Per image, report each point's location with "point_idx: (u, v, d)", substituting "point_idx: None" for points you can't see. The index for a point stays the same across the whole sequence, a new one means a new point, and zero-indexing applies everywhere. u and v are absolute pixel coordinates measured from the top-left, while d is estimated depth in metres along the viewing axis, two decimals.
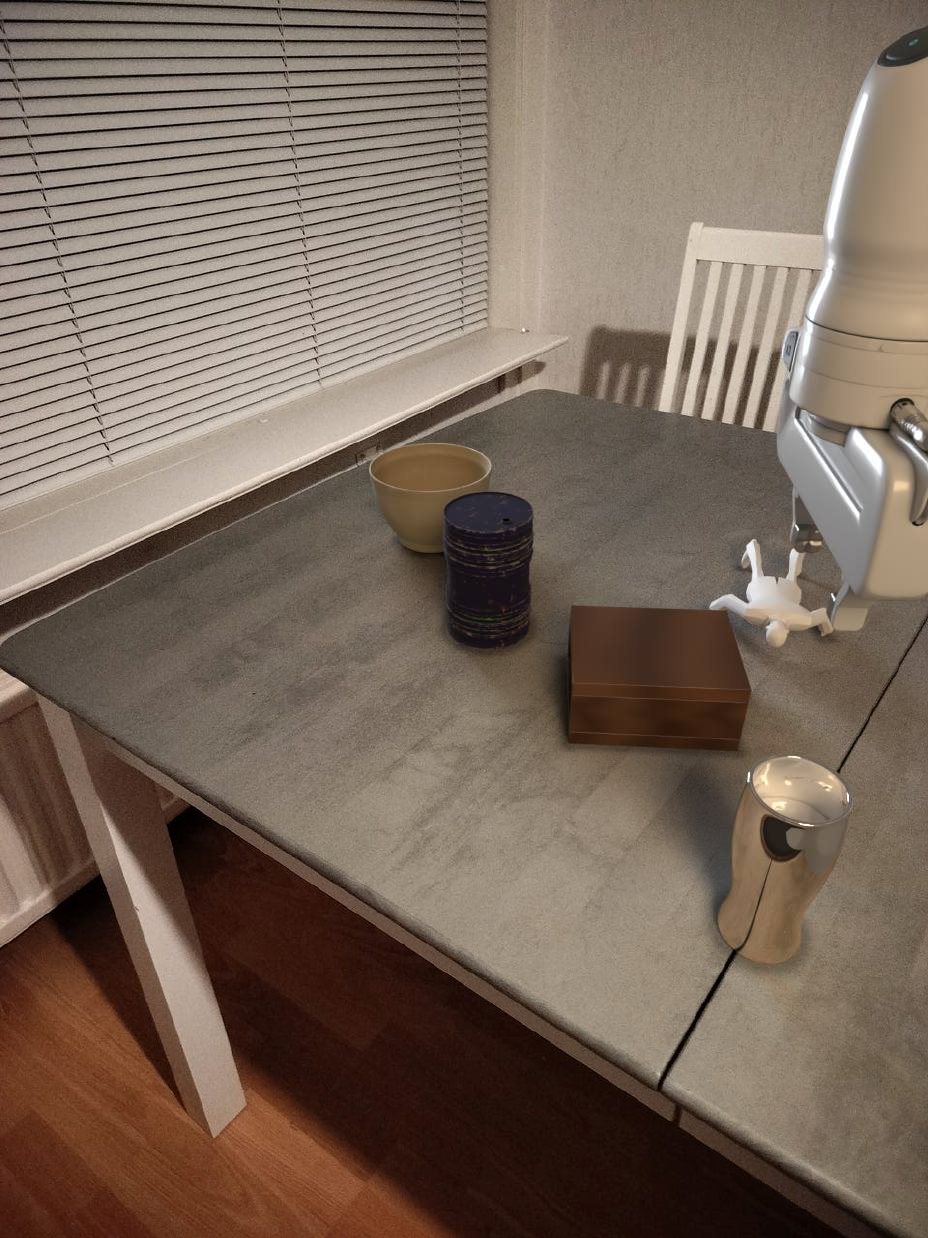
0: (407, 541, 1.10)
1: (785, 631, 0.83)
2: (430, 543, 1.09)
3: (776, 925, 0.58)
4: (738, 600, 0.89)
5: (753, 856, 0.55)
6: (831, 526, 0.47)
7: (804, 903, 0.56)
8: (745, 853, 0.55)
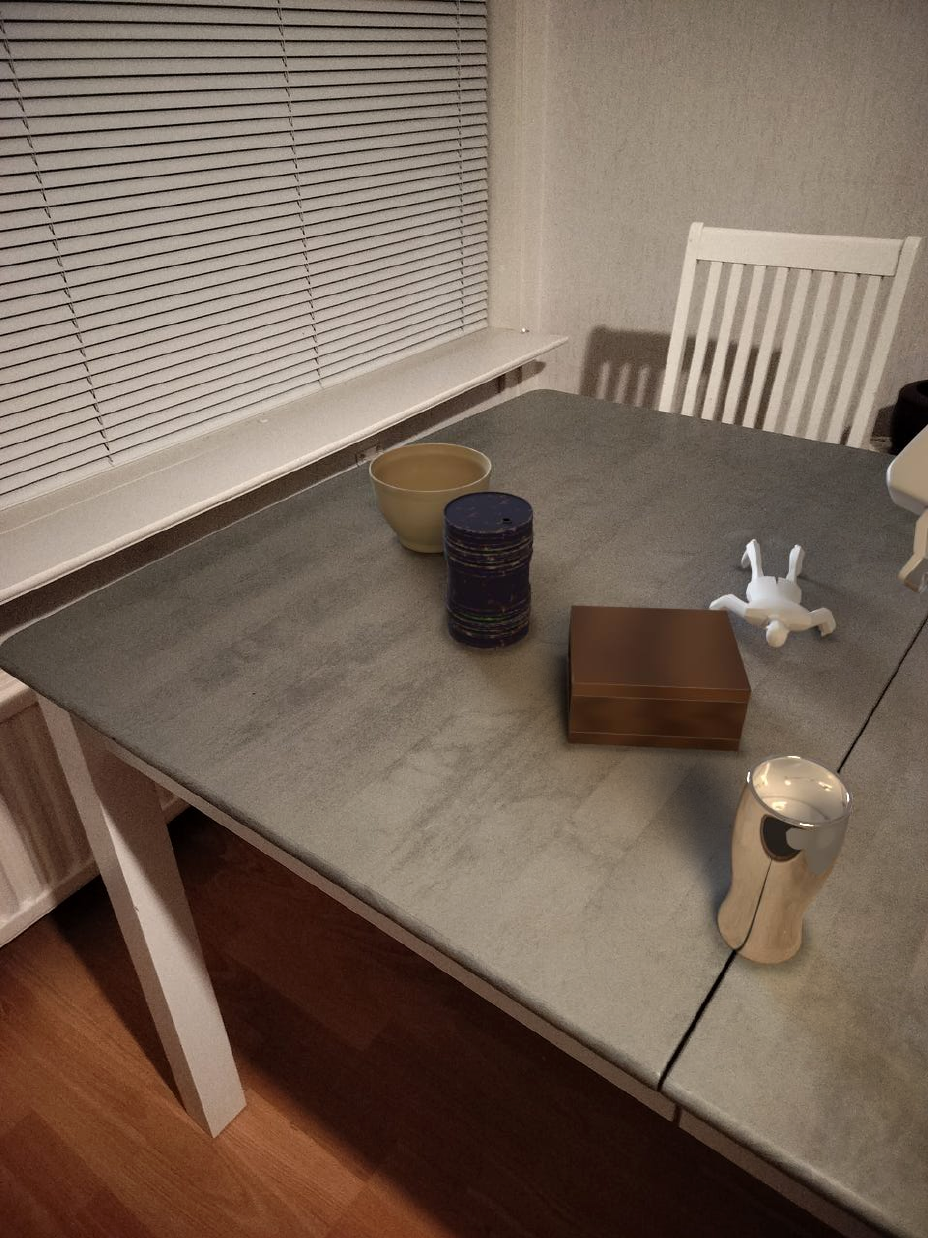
0: (407, 541, 1.10)
1: (785, 631, 0.83)
2: (430, 543, 1.09)
3: (776, 925, 0.58)
4: (738, 600, 0.89)
5: (753, 856, 0.55)
6: None
7: (804, 903, 0.56)
8: (745, 853, 0.55)
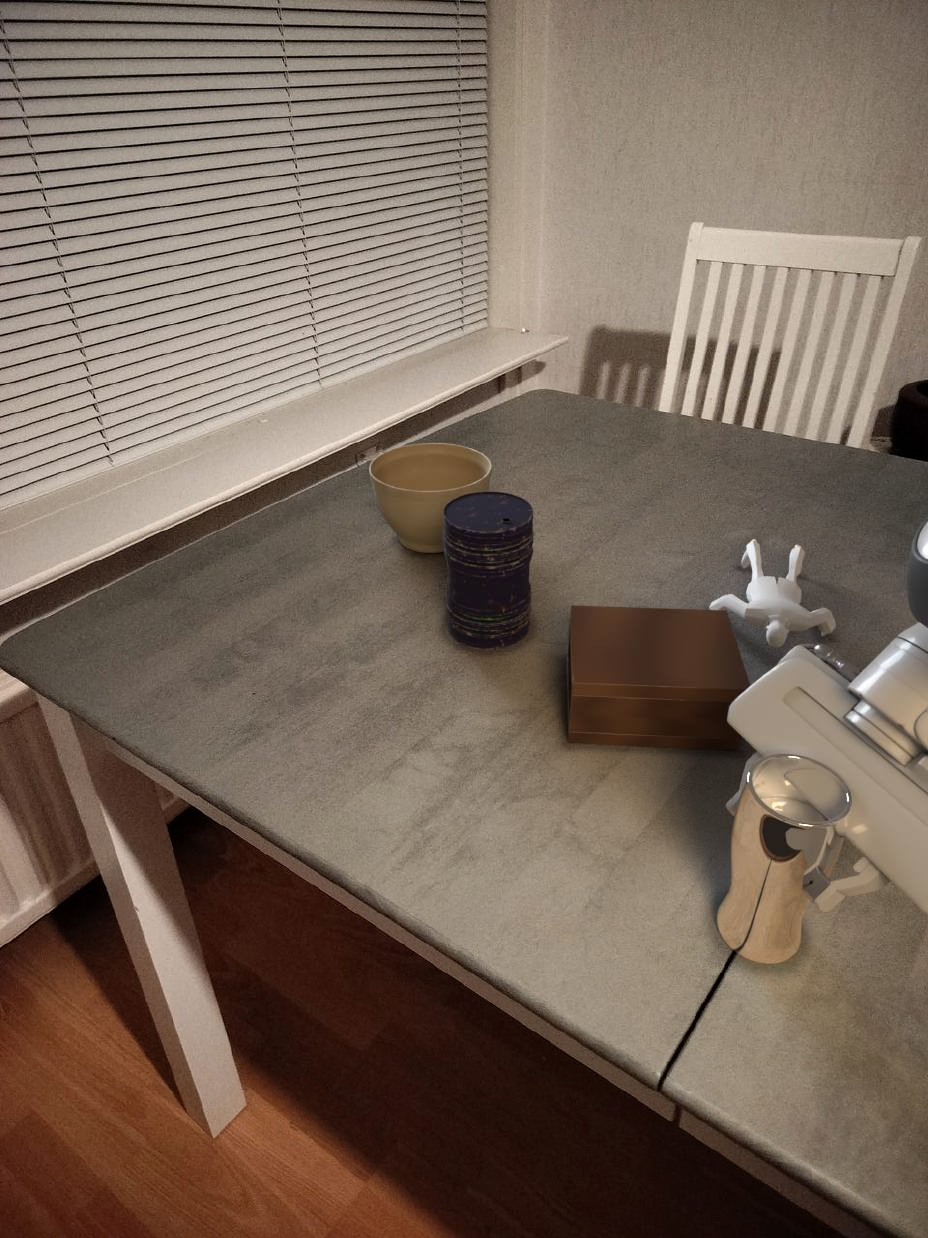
0: (407, 541, 1.10)
1: (785, 631, 0.83)
2: (430, 543, 1.09)
3: (775, 925, 0.58)
4: (738, 600, 0.89)
5: (753, 856, 0.55)
6: None
7: (803, 903, 0.56)
8: (745, 853, 0.55)
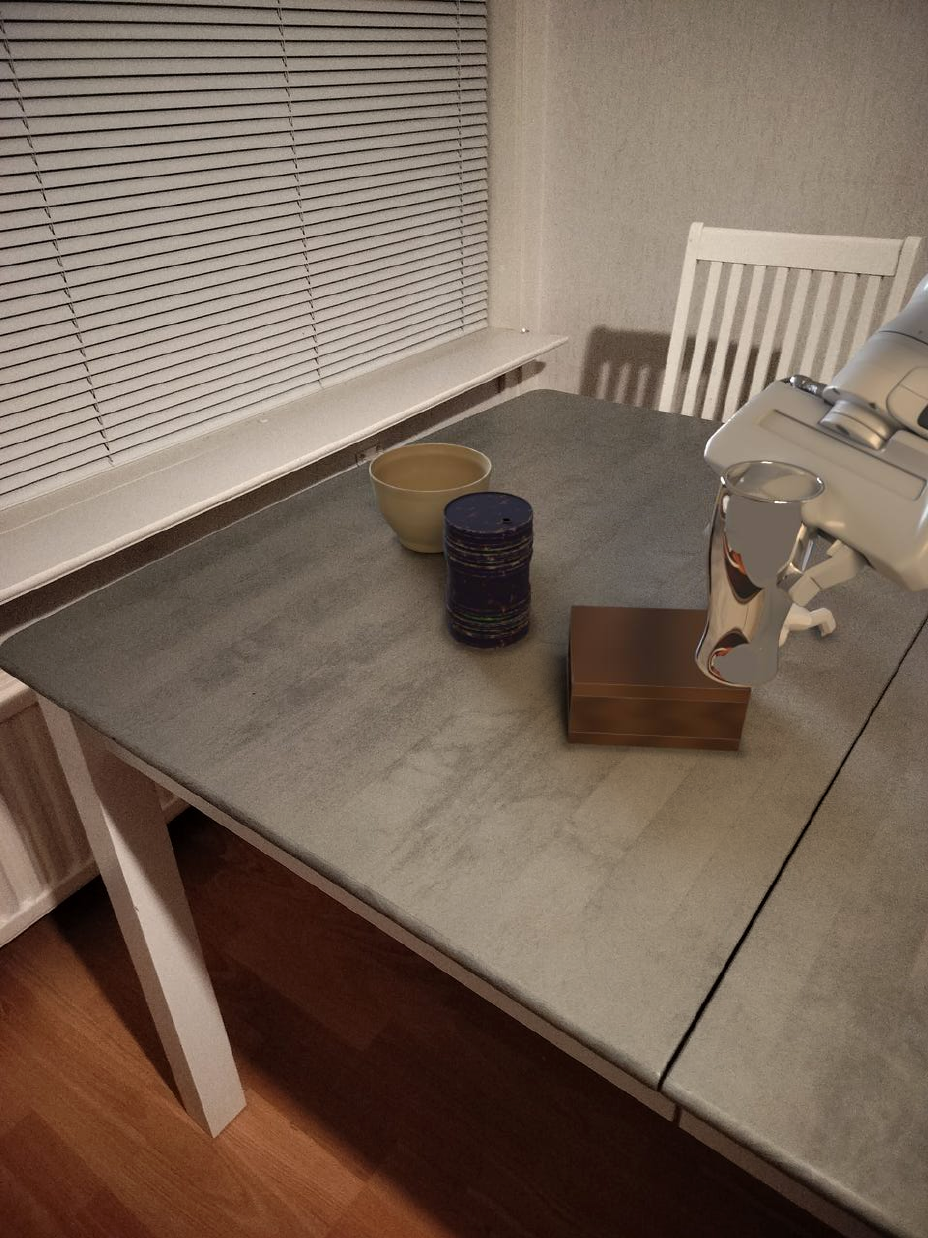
0: (407, 541, 1.10)
1: (785, 631, 0.83)
2: (430, 543, 1.09)
3: (751, 639, 0.58)
4: None
5: (727, 553, 0.55)
6: None
7: (779, 608, 0.56)
8: (719, 554, 0.55)
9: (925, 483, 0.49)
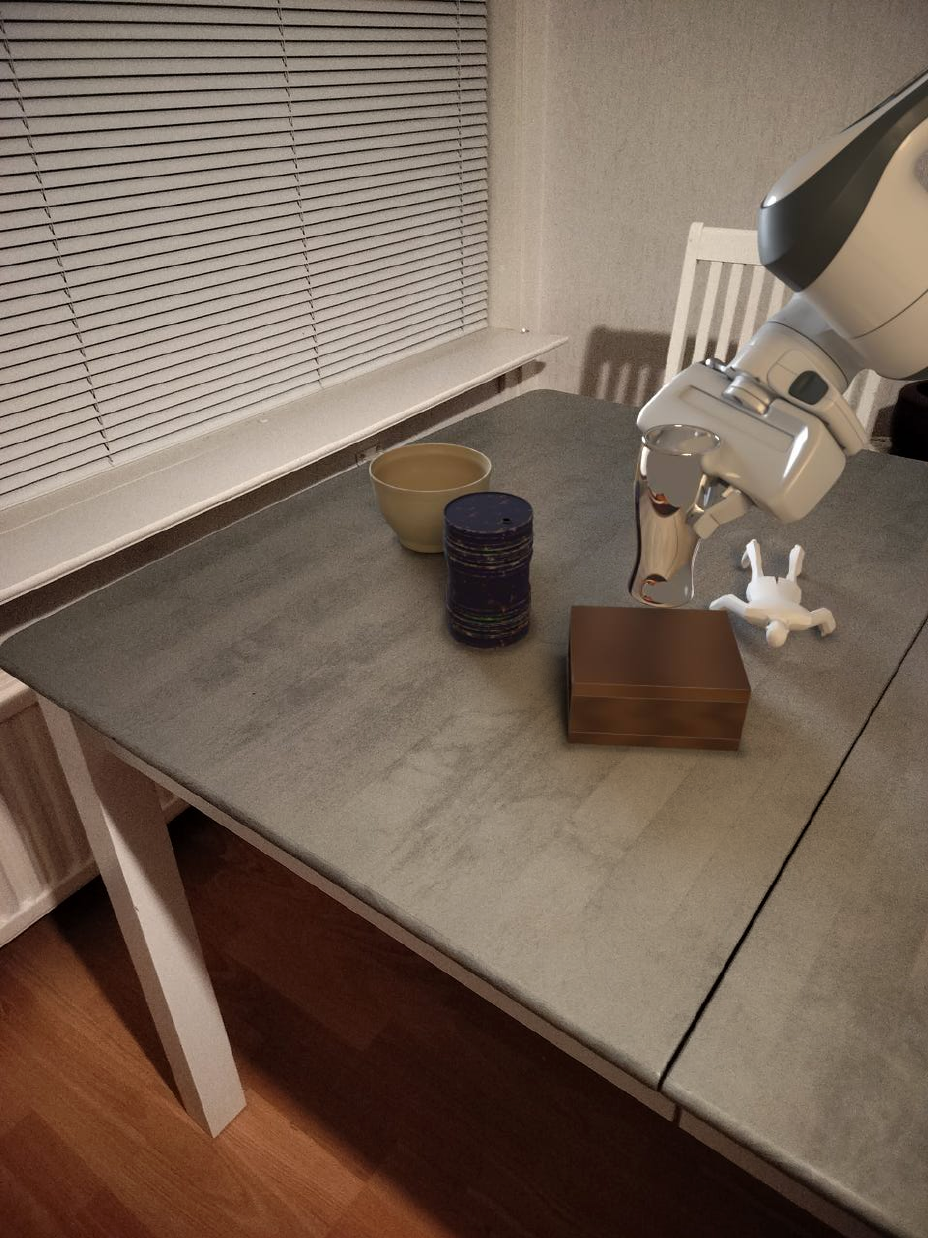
0: (407, 541, 1.10)
1: (785, 631, 0.83)
2: (430, 543, 1.09)
3: (669, 568, 0.72)
4: (738, 600, 0.89)
5: (646, 497, 0.69)
6: None
7: (689, 541, 0.70)
8: (641, 498, 0.70)
9: (793, 439, 0.64)
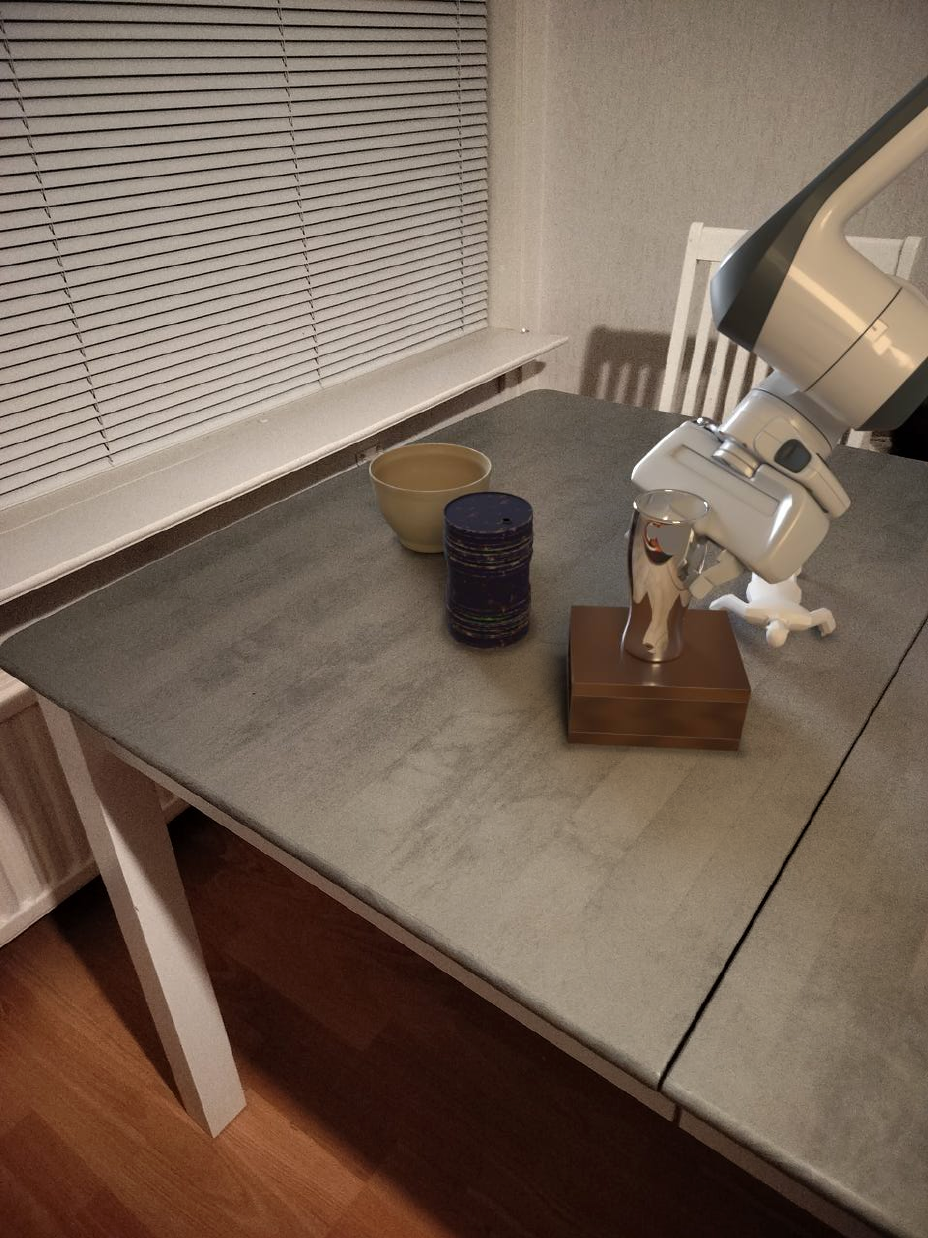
0: (407, 541, 1.10)
1: (785, 631, 0.83)
2: (430, 543, 1.09)
3: (660, 624, 0.76)
4: (738, 600, 0.89)
5: (638, 559, 0.73)
6: None
7: (679, 601, 0.74)
8: (633, 560, 0.73)
9: (779, 504, 0.67)
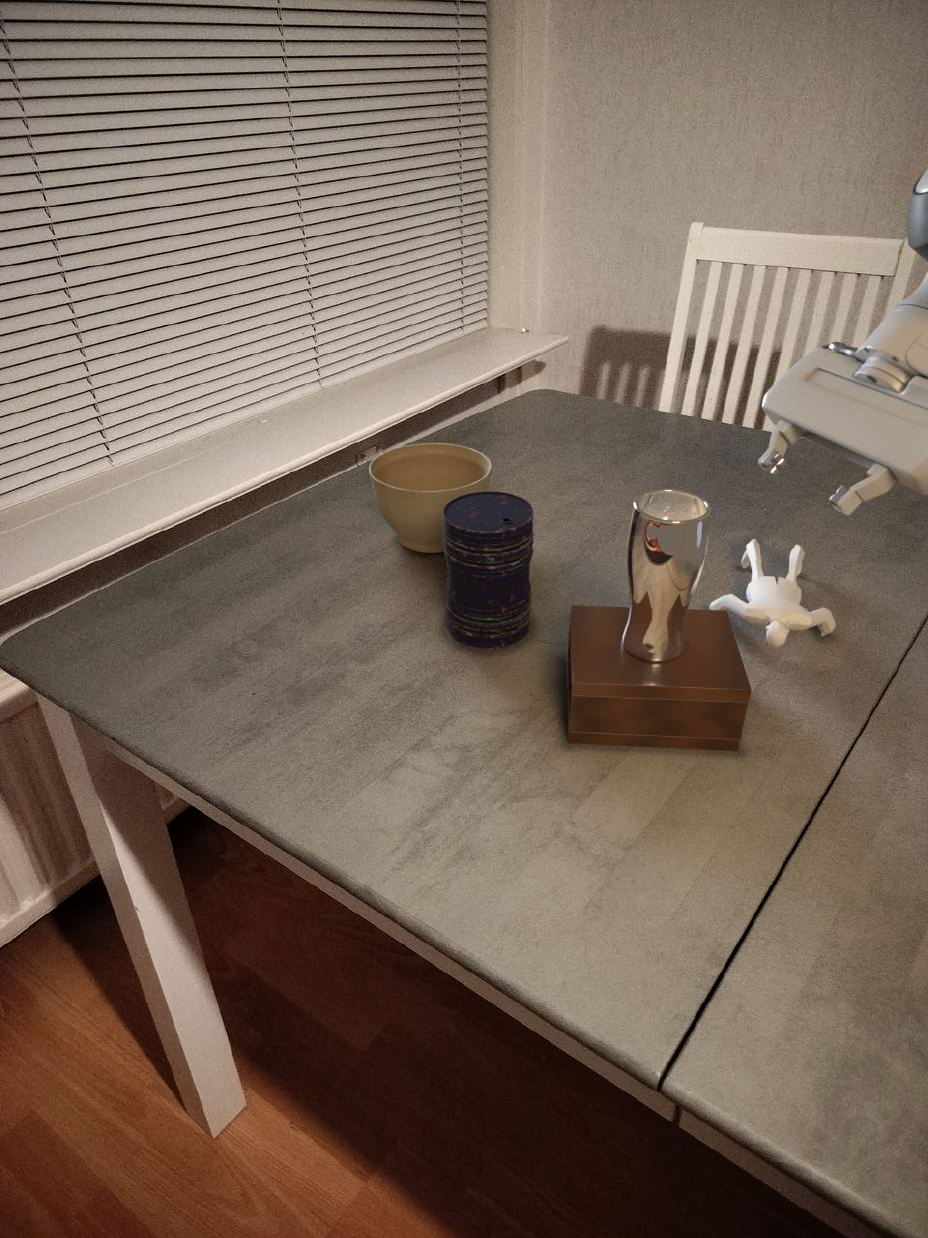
0: (407, 541, 1.10)
1: (785, 631, 0.83)
2: (430, 543, 1.09)
3: (660, 624, 0.76)
4: (738, 600, 0.89)
5: (638, 559, 0.73)
6: None
7: (679, 601, 0.74)
8: (633, 560, 0.73)
9: None
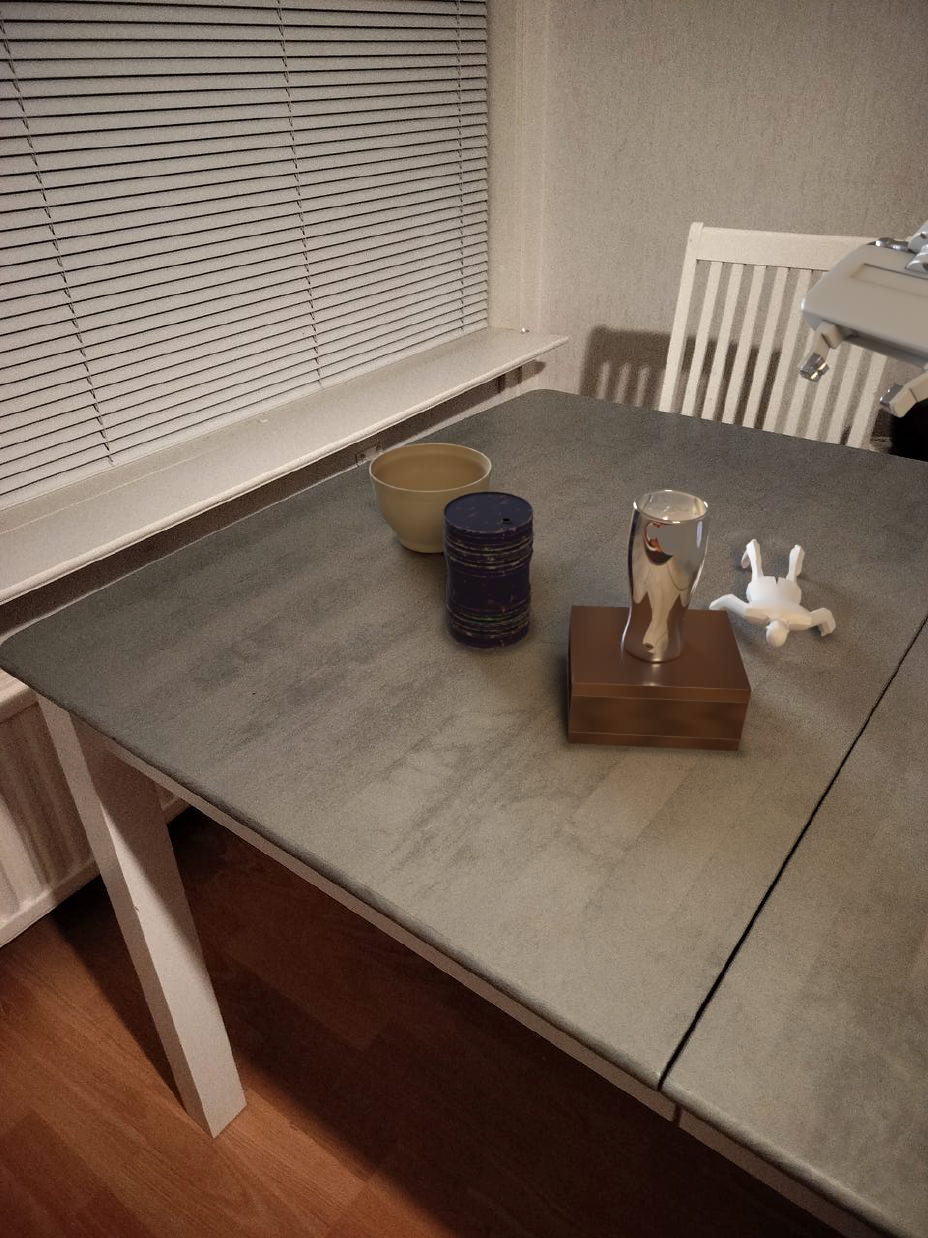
0: (407, 541, 1.10)
1: (785, 631, 0.83)
2: (430, 543, 1.09)
3: (660, 624, 0.76)
4: (738, 600, 0.89)
5: (638, 559, 0.73)
6: None
7: (679, 601, 0.74)
8: (633, 560, 0.73)
9: None
